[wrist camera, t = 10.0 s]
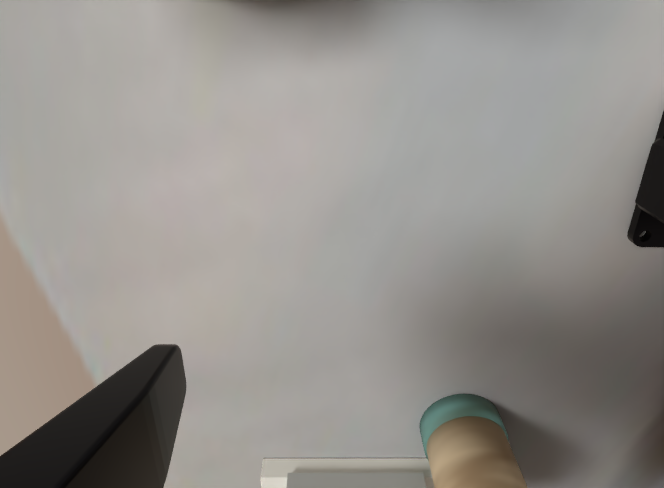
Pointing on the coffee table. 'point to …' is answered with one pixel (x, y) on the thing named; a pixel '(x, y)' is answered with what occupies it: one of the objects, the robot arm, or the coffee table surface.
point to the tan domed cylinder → (468, 445)
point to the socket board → (346, 473)
